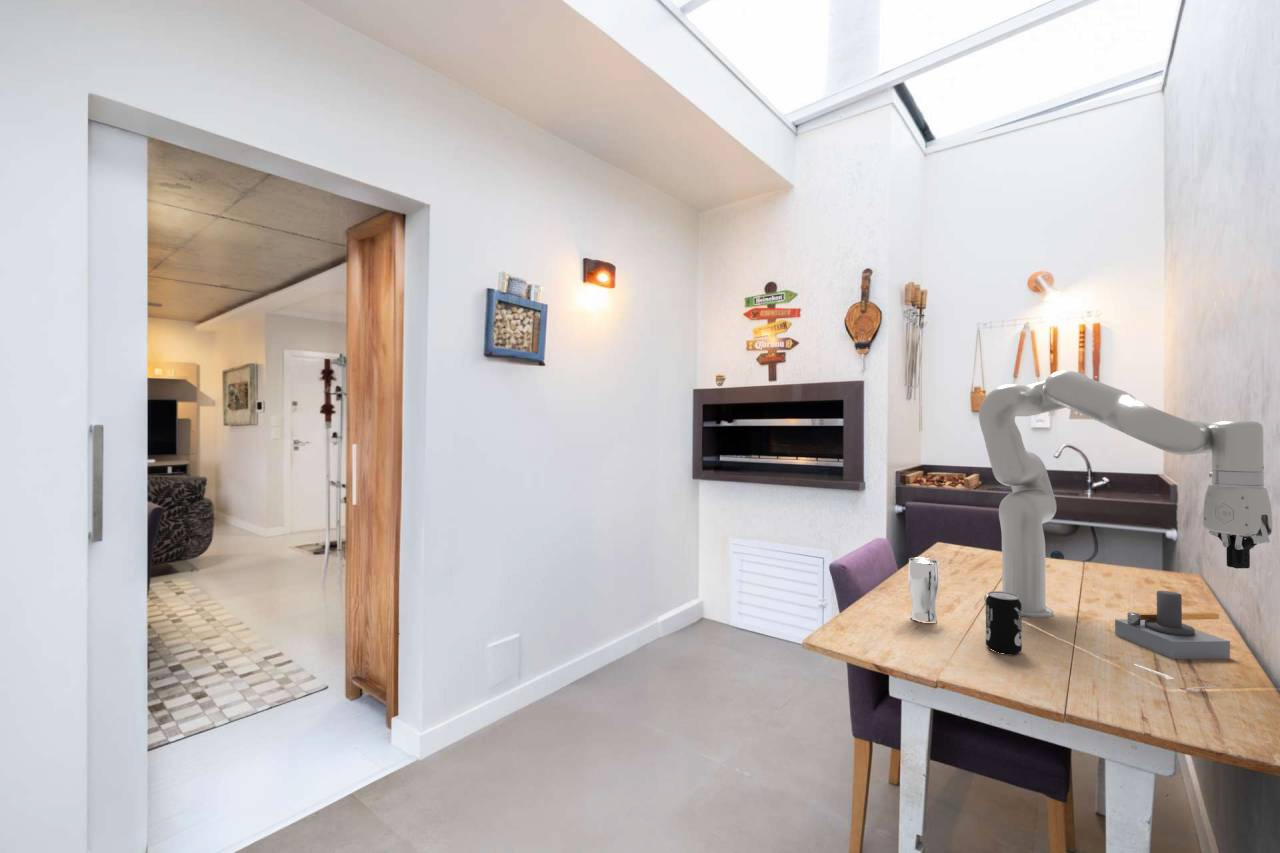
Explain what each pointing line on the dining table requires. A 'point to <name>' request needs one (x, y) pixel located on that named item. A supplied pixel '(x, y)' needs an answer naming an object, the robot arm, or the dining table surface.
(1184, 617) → the orange stick
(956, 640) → the dining table surface
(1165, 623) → the plug
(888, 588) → the dining table surface
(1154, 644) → the socket block
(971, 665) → the dining table surface
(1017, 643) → the beverage can
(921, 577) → the beer glass
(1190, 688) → the fork
